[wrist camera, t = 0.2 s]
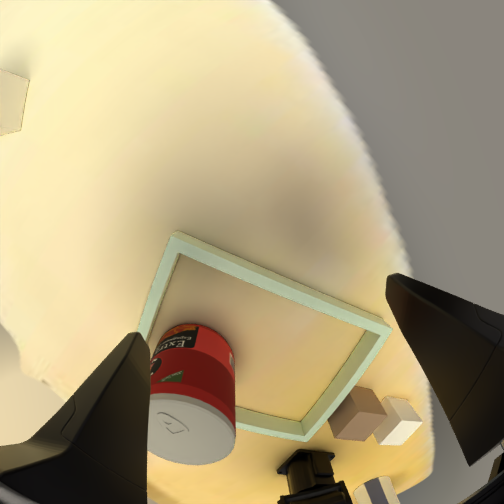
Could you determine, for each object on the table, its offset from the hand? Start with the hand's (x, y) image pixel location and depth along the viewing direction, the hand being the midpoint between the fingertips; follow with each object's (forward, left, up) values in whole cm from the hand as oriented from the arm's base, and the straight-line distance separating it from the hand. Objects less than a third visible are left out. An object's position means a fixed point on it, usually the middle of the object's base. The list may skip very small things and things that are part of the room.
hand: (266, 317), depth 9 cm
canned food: (-13, 0, -16) cm, 20 cm away
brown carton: (-13, -19, -15) cm, 28 cm away
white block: (-14, -27, -15) cm, 34 cm away
